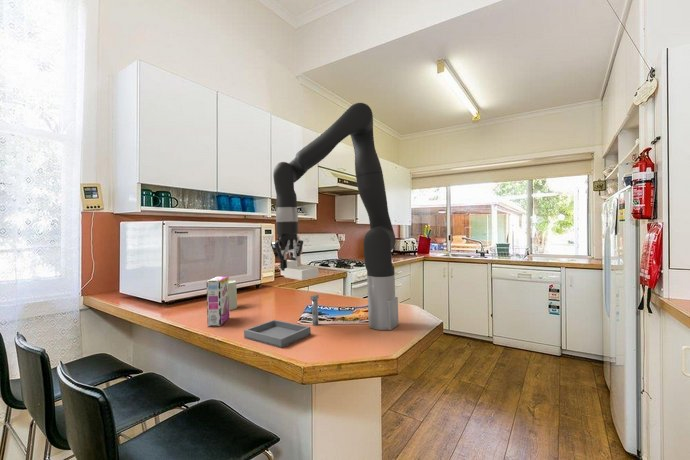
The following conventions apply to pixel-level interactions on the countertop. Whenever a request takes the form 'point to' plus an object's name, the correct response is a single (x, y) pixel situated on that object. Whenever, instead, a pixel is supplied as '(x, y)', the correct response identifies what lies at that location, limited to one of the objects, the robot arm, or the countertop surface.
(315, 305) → the post
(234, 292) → the can
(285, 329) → the tray
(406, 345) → the countertop surface
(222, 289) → the candy bar box
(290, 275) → the collar
